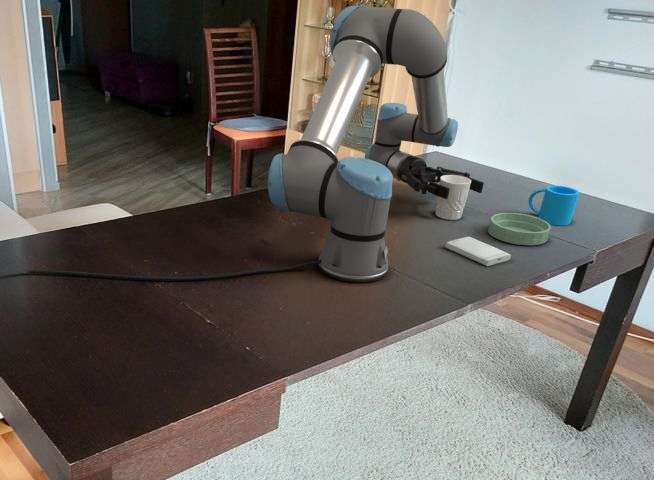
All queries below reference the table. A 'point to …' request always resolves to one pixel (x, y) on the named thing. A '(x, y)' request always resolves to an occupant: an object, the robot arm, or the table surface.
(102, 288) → the table surface
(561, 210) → the mug
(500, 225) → the bowl
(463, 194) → the white cup
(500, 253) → the hard drive
